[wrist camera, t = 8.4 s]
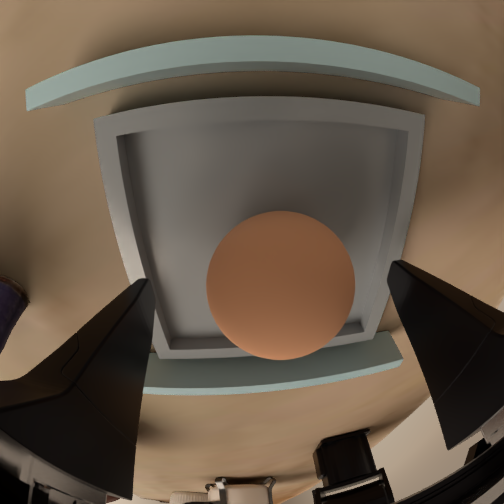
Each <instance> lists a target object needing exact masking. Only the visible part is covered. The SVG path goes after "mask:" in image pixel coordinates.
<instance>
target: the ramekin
mask: <svg viewBox="0 0 504 504" xmlns="http://www.w3.org/2000/svg"><path fill="white" fill-rule="evenodd" d="M187 502H208V494H205V493H196V492H180V491H177V492H173V493H172V494H171V498H170V504H184V503H187Z"/></svg>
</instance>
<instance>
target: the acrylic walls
mask: <svg viewBox="0 0 504 504" xmlns="http://www.w3.org/2000/svg"><path fill="white" fill-rule="evenodd" d="M239 71H284V72H303V73H315V74H326V75H334V76H342V77H349V78H356V79H362V80H367V81H373V82H378V83H383V84H387V85H392V86H396V87H400V88H404V89H408V90H412V91H416V92H419V93H423V94H426V95H430V96H433V97H436V98H439V99H443V100H449V101H455V102H460V103H465V104H470V105H475V106H479V107H480V88H479V87H477V86H475V85H473V84H471V83H469V82H467V81H464V80H462V79H460V78H458V77H456V76H453V75H451V74H449V73H446V72H444V71H441V70H439V69H436V68H434V67H431V66H428V65H425V64H423V63H420V62H417V61H414V60H411V59H407V58H404V57H401V56H398V55H394V54H390V53H387V52H383V51H379V50H375V49H371V48H366V47H361V46H357V45H351V44H346V43H340V42H334V41H327V40H320V39H311V38H301V37H288V36H263V35H245V36H221V37H208V38H198V39H189V40H181V41H175V42H168V43H163V44H157V45H152V46H147V47H143V48H138V49H134V50H130V51H126V52H122V53H118V54H115V55H111V56H108V57H104V58H101V59H98V60H95V61H92V62H89V63H86V64H83V65H80V66H78V67H75V68H72V69H70V70H67V71H65V72H62V73H60V74H57V75H55V76H53V77H50V78H48V79H46V80H44V81H42V82H40V83H37V84H35V85H33V86H31V87H29V88H27V89H25V90H26V107H27V111H31V110H36V109H41V108H46V107H52V106H59V105H64V104H67V103H70V102H73V101H76V100H79V99H82V98H85V97H88V96H92V95H95V94H99V93H102V92H106V91H109V90H113V89H117V88H121V87H126V86H130V85H134V84H139V83H144V82H149V81H155V80H160V79H166V78H173V77H180V76H188V75H197V74H207V73H220V72H239ZM402 361H403V357H402V355H401V353H400V351H399V349H398V347H397V345H396V344H395V342H394V340H393V338H392V336H391V334H390V333H389V331H383V332H378V333H375V335H374V338H373V339H371V340H366V341H360V342H355V343H349V344H344V345H338V346H332V347H325V348H320V349H319V350H317V351H315V352H313V353H311V354H308V355H306V356H303V357H299V358H295V359H289V360H271V359H266V358H261V357H258V356H243V357H227V358H202V359H159V357H158V355H157V353H150V354H149V360H148V365H147V371H146V377H145V383H144V389H143V394H161V395H226V394H244V393H257V392H268V391H277V390H286V389H294V388H301V387H308V386H314V385H320V384H326V383H331V382H337V381H342V380H347V379H351V378H356V377H360V376H365V375H369V374H373V373H377V372H381V371H385V370H388V369H392V368H396V367H399V366H400V364H401V363H402Z"/></svg>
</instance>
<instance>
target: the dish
mask: <svg viewBox="0 0 504 504" xmlns="http://www.w3.org/2000/svg"><path fill="white" fill-rule="evenodd" d="M424 125H425V115H424V114H419V113H415V112H411V111H406V110H401V109H396V108H391V107H386V106H380V105H374V104H367V103H361V102H353V101H345V100H335V99H324V98H310V97H288V96H248V97H225V98H211V99H200V100H191V101H182V102H175V103H168V104H161V105H155V106H149V107H143V108H138V109H133V110H128V111H124V112H119V113H115V114H110V115H106V116H102V117H98V118H95V119H94V128H95V136H96V143H97V150H98V156H99V162H100V168H101V174H102V179H103V184H104V189H105V194H106V198H107V203H108V207H109V211H110V216H111V220H112V224H113V228H114V231H115V235H116V239H117V243H118V246H119V250H120V253H121V256H122V260H123V263H124V266H125V269H126V273H127V276H128V279H129V282H130V285H131V284H133V283H134V282H135V281H136V280H137V279H139V278H149V279H150V281H151V283H152V287H153V290H154V293H155V297H156V306H155V316H154V327H153V338H152V343H153V345H154V348H155V350H156V352H157V355H158V357H159V359H202V358H227V357H243V356H255V355H252V354H250V353H248V352H246V351H244V350H242V349H240V348H239V347H238V346H236V345H235V344H234V343H232V342H231V341H230V340H229V339H228V338H227V337H226V336H225V335H224V334H223V332H222V331H221V330H220V328H219V327H218V325H217V324H216V322H215V320H214V318H213V316H212V314H211V311H210V308H209V304H208V300H207V293H206V278H207V272H208V267H209V263H210V261H211V258H212V256H213V254H214V252H215V249H216V248H217V246H218V245H219V243H220V242H221V240H222V239H223V238H224V237H225V236H226V235H227V234H228V232H230V231H231V230H232V229H233V228H234V227H235V226H237V225H238V224H240V223H241V222H243V221H244V220H246V219H248V218H250V217H253V216H255V215H258V214H262V213H266V212H272V211H290V212H296V213H300V214H304V215H307V216H309V217H312V218H314V219H316V220H318V221H319V222H321V223H322V224H324V225H325V226H327V227H328V228H329V229H330V230H331V231H333V232H334V234H335V235H336V236H337V237H338V238H339V239H340V241H341V242H342V243H343V245H344V247H345V248H346V250H347V252H348V254H349V256H350V259H351V262H352V265H353V268H354V275H355V296H354V301H353V305H352V308H351V311H350V314H349V316H348V318H347V320H346V322H345V324H344V325H343V327H342V328H341V330H340V331H339V332H338V333H337V335H336V336H335V337H334V338H333V339H332V340H330V341H329V342H328V343H327V344H326V345H325V346H323V347H322V348H325V347H332V346H338V345H344V344H349V343H355V342H360V341H366V340H371V339H373V338H374V335H375V333H376V330H377V328H378V325H379V323H380V320H381V317H382V314H383V312H384V309H385V306H386V303H387V300H388V298H389V295H390V290H389V287H388V285H387V276H388V272H389V269H390V265H391V263H392V261H394V260H400V259H401V255H402V252H403V248H404V244H405V240H406V236H407V232H408V228H409V223H410V219H411V214H412V209H413V205H414V199H415V194H416V188H417V183H418V176H419V170H420V163H421V155H422V146H423V137H424Z"/></svg>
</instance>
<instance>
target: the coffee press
mask: <svg viewBox="0 0 504 504" xmlns="http://www.w3.org/2000/svg"><path fill="white" fill-rule="evenodd" d="M271 478H272V477H268V478H266V479H265V481H264V482H262V483H260V484H241V485H231V484H229V483H228V482H227V481H226V479H225V478H224V477H219V478H216V479H215V483H216V485H217V487H215V486H214V485H211V484H207V485H206V486H205V488H206V490H207V491H208V502H187V503H184V504H273V501H272V487H273V486H274V484H275V483H276V479H275V478H272V480H273V481H272V483H271V484H270V486H269V487H267V486H264V485H263V484H266V483H267V482H268V481H269V480H270V479H271ZM210 486H212V487H213V488H211V489H209V487H210Z"/></svg>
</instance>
